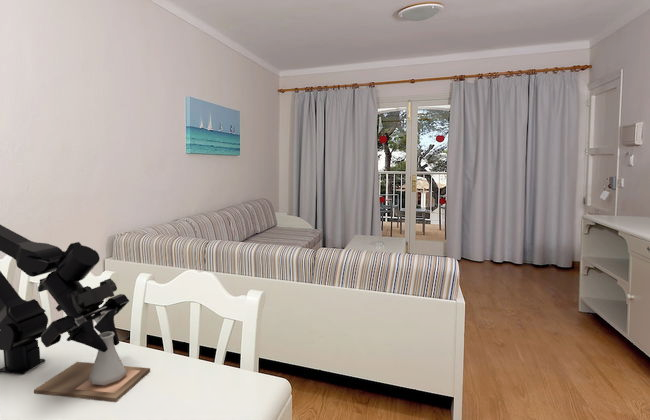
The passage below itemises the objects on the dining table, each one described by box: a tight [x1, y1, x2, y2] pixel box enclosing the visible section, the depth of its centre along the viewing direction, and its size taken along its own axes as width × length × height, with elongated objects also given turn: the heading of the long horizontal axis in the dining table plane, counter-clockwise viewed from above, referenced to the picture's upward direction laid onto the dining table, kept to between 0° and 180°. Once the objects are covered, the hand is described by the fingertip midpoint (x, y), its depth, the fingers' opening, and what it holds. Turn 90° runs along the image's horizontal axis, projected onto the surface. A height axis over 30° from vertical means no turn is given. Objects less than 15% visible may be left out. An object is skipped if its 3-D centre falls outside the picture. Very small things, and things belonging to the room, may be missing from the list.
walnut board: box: [33, 361, 151, 403], centre depth 86 cm, size 19×12×1 cm, turn 82°
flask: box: [89, 331, 127, 385], centre depth 85 cm, size 7×7×10 cm
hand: (112, 347), depth 85 cm, fingers closed on flask, 3 cm apart
